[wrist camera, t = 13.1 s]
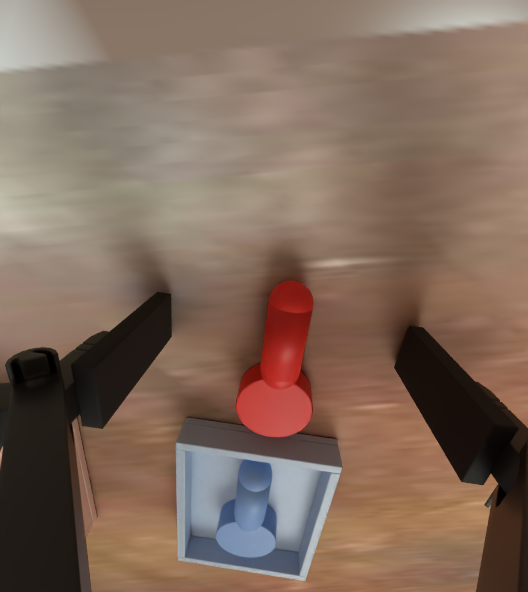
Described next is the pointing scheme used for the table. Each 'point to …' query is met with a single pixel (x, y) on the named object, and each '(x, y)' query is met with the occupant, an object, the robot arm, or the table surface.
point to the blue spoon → (249, 514)
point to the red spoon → (280, 367)
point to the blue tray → (282, 497)
